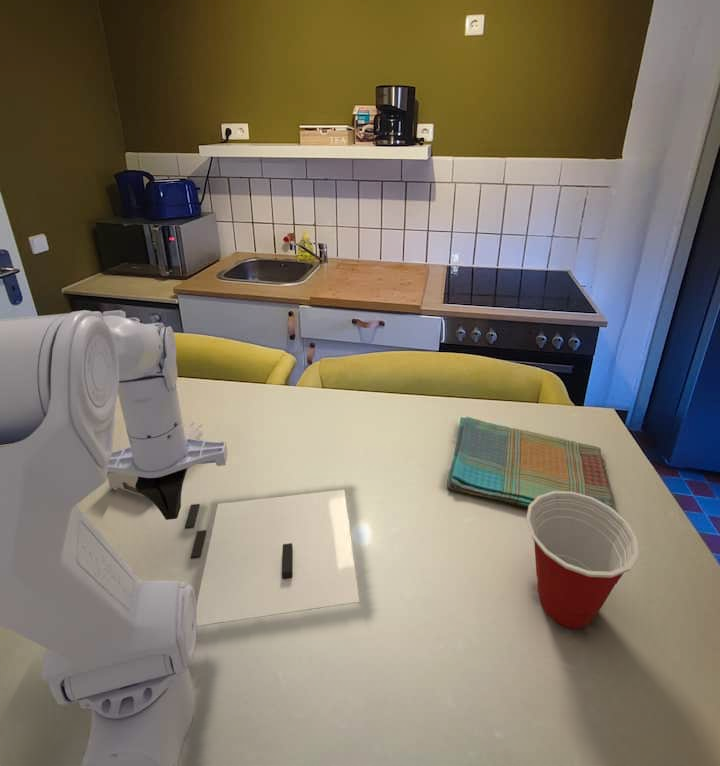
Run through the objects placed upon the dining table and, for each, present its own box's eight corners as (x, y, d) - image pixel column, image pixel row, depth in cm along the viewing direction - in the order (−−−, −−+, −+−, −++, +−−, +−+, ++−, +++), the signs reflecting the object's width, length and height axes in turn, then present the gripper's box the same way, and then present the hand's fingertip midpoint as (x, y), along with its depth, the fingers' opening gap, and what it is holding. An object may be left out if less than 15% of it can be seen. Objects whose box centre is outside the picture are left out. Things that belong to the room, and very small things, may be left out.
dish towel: (459, 423, 81) (460, 411, 80) (597, 451, 73) (600, 439, 73) (445, 491, 66) (446, 478, 65) (618, 535, 58) (622, 521, 57)
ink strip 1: (185, 533, 59) (194, 532, 59) (184, 527, 58) (193, 526, 59) (192, 510, 62) (200, 509, 63) (190, 504, 62) (199, 503, 62)
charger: (220, 440, 77) (157, 505, 63) (178, 429, 79) (110, 489, 66) (217, 418, 75) (151, 480, 62) (174, 407, 78) (103, 464, 65)
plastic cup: (531, 542, 57) (544, 472, 53) (624, 594, 51) (646, 519, 47) (499, 608, 49) (512, 532, 45) (603, 680, 43) (629, 598, 39)
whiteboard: (366, 613, 49) (366, 607, 49) (184, 640, 46) (183, 634, 46) (348, 490, 66) (348, 485, 65) (214, 505, 63) (213, 500, 63)
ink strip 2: (200, 555, 55) (190, 556, 54) (201, 562, 55) (191, 563, 55) (206, 529, 58) (197, 530, 58) (207, 536, 58) (198, 537, 58)
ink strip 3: (292, 578, 52) (291, 571, 51) (282, 579, 52) (281, 572, 51) (292, 549, 55) (292, 542, 55) (283, 550, 55) (282, 544, 55)
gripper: (225, 396, 53) (236, 481, 58) (101, 407, 51) (123, 494, 56) (216, 433, 47) (229, 525, 51) (73, 447, 45) (100, 542, 49)
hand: (173, 512), depth 53 cm, fingers closed
